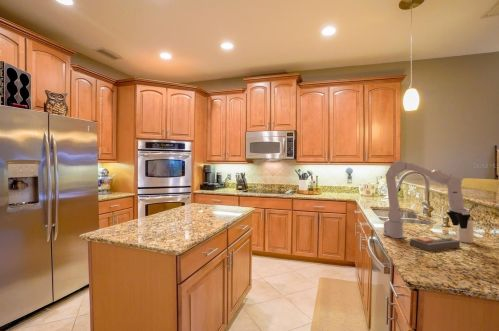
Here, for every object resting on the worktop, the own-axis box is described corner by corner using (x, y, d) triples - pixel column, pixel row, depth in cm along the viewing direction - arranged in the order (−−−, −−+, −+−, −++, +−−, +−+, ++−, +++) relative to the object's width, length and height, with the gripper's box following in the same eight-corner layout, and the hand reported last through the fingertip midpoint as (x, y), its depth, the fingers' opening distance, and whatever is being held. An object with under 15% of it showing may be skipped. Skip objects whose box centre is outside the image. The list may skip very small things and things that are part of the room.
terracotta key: (417, 241, 125) (417, 238, 125) (423, 241, 126) (423, 237, 126) (425, 244, 120) (425, 240, 120) (432, 243, 122) (432, 240, 122)
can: (476, 243, 128) (476, 220, 128) (462, 243, 129) (462, 220, 129) (468, 240, 134) (468, 218, 134) (454, 239, 135) (454, 217, 135)
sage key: (436, 239, 128) (436, 236, 128) (442, 238, 129) (442, 235, 129) (445, 242, 124) (445, 238, 124) (451, 241, 125) (451, 237, 125)
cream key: (426, 240, 126) (426, 237, 126) (433, 239, 127) (433, 236, 127) (435, 243, 122) (435, 239, 122) (442, 242, 123) (442, 238, 123)
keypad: (410, 244, 127) (410, 238, 127) (439, 241, 132) (439, 235, 132) (428, 251, 117) (428, 244, 117) (459, 247, 123) (459, 241, 123)
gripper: (473, 201, 117) (477, 229, 116) (457, 198, 131) (461, 223, 130) (455, 202, 119) (460, 230, 118) (442, 199, 133) (445, 224, 132)
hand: (459, 226), depth 124 cm, fingers open, 7 cm apart
